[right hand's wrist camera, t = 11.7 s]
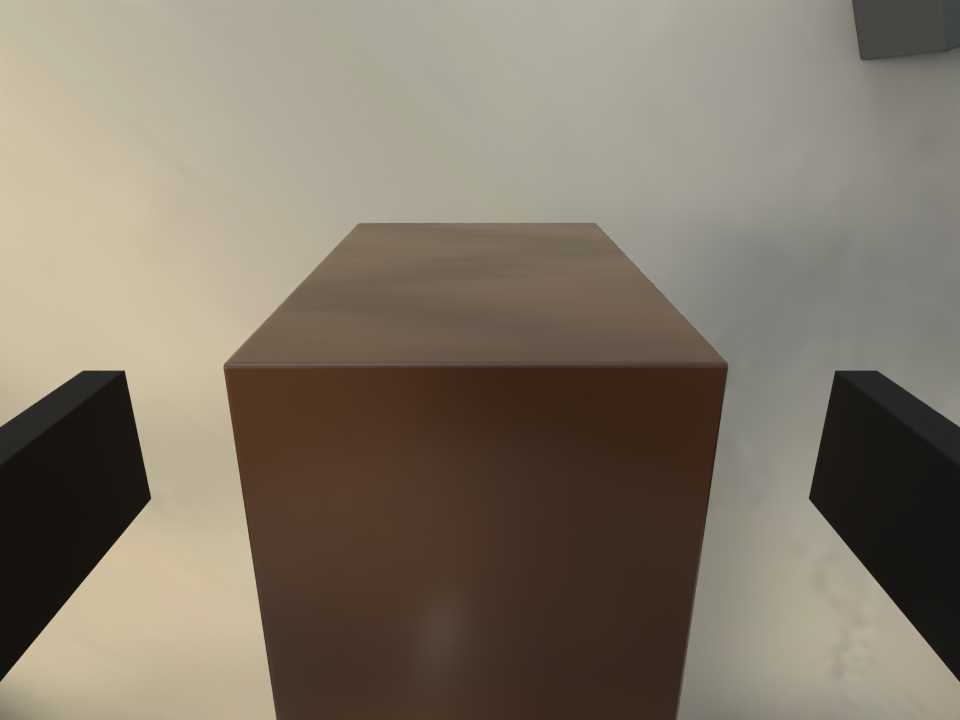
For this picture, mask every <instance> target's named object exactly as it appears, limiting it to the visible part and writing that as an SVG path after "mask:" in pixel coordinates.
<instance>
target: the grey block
mask: <svg viewBox="0 0 960 720" xmlns="http://www.w3.org/2000/svg"><path fill="white" fill-rule="evenodd" d="M852 1H853V8H854V15H855V22H856V29H857V36H858V43H859V50H860V57H861V60H868V59H878V58H888V57H897V56H907V55H917V54H926V53H936V52H946V51H949V50H951V49H954V48H957V47H959V46H960V0H852Z"/></svg>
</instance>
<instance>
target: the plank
mask: <svg viewBox="0 0 960 720" xmlns="http://www.w3.org/2000/svg"><path fill="white" fill-rule="evenodd" d="M727 371H728V364H727V362H726V361H725V360H724V359H723V358H722V357H721V356H720V355H719V354H718V353H717V352H716V351H715V349H714V348H713V347H712V346H711V345H710V344H709V343H708V342H707V341H706V340H705V339H704V338H703V337H702V336H701V335H700V334H699V332H698V331H697V330H696V329H695V328H694V327H693V326H692V325H691V324H690V323H689V322H688V321H687V320H686V319H685V318H684V317H683V315H682V314H681V313H680V312H679V311H678V310H677V309H676V308H675V307H674V306H673V305H672V304H671V303H670V302H669V301H668V299H667V298H666V297H665V296H664V295H663V294H662V293H661V292H660V291H659V290H658V289H657V288H656V287H655V286H654V285H653V284H652V282H651V281H650V280H649V279H648V278H647V277H646V276H645V275H644V274H643V273H642V272H641V271H640V270H639V269H638V268H637V266H636V265H635V264H634V263H633V262H632V261H631V260H630V259H629V258H628V257H627V256H626V255H625V254H624V253H623V252H622V251H621V249H620V248H619V247H618V246H617V245H616V244H615V243H614V242H613V241H612V240H611V239H610V238H609V237H608V236H607V235H606V234H605V232H604V231H603V230H602V229H601V228H600V227H599V226H598V225H597V224H596V223H359V224H358V225H357V226H356V227H355V228H354V229H353V230H352V231H351V232H350V233H349V234H348V235H347V236H346V237H345V238H344V239H343V240H342V241H341V242H340V243H339V245H338V246H337V247H336V248H335V249H334V250H333V251H332V252H331V253H330V254H329V255H328V256H327V257H326V258H325V259H324V260H323V261H322V262H321V263H320V264H319V265H318V266H317V268H316V269H315V270H314V271H313V272H312V273H311V274H310V275H309V276H308V277H307V278H306V279H305V280H304V281H303V282H302V283H301V284H300V285H299V286H298V287H297V288H296V289H295V290H294V292H293V293H292V294H291V295H290V296H289V297H288V298H287V299H286V300H285V301H284V302H283V303H282V304H281V305H280V306H279V307H278V308H277V309H276V310H275V311H274V312H273V313H272V315H271V316H270V317H269V318H268V319H267V320H266V321H265V322H264V323H263V324H262V325H261V326H260V327H259V328H258V329H257V330H256V331H255V332H254V333H253V334H252V335H251V336H250V338H249V339H248V340H247V341H246V342H245V343H244V344H243V345H242V346H241V347H240V348H239V349H238V350H237V351H236V352H235V353H234V354H233V355H232V356H231V357H230V358H229V359H228V361H227V362H226V363H225V364H224V373H225V380H226V387H227V393H228V400H229V407H230V413H231V420H232V427H233V433H234V440H235V446H236V453H237V460H238V466H239V473H240V480H241V486H242V493H243V499H244V506H245V513H246V519H247V526H248V533H249V539H250V546H251V552H252V559H253V566H254V572H255V579H256V586H257V592H258V599H259V605H260V612H261V619H262V625H263V632H264V639H265V645H266V652H267V658H268V665H269V672H270V678H271V685H272V692H273V698H274V705H275V711H276V718H277V720H677V716H678V710H679V703H680V696H681V689H682V682H683V675H684V668H685V661H686V654H687V647H688V640H689V633H690V627H691V620H692V613H693V606H694V599H695V592H696V585H697V578H698V571H699V564H700V557H701V551H702V544H703V537H704V530H705V523H706V516H707V509H708V502H709V495H710V488H711V481H712V475H713V468H714V461H715V454H716V447H717V440H718V433H719V426H720V419H721V412H722V405H723V399H724V392H725V385H726V378H727Z"/></svg>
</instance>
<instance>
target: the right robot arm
mask: <svg viewBox="0 0 960 720" xmlns="http://www.w3.org/2000/svg"><path fill="white" fill-rule="evenodd" d="M150 499H151V495H150V491H149V486H148V481H147V476H146V471H145V467H144V462H143V457H142V452H141V447H140V442H139V438H138V433H137V428H136V423H135V418H134V414H133V409H132V404H131V399H130V394H129V389H128V385H127V380H126V375H125V371H82V372H80V373H79V374H78V375H76V376H75V377H73V378H72V379H70V380H69V381H67V382H66V383H64V384H63V385H61V386H60V387H59V388H57V389H56V390H54V391H53V392H51V393H50V394H48V395H47V396H45V397H44V398H42V399H41V400H39V401H38V402H37V403H35V404H34V405H32V406H31V407H29V408H28V409H26V410H25V411H23V412H22V413H20V414H19V415H18V416H16V417H15V418H13V419H12V420H10V421H9V422H7V423H6V424H4V425H3V426H1V427H0V682H1V680H2V679H3V678H4V677H5V675H6V674H7V673H8V672H9V671H10V669H11V668H12V667H13V666H14V665H15V663H16V662H17V661H18V660H19V658H20V657H21V656H22V655H23V654H24V652H25V651H26V650H27V649H28V648H29V646H30V645H31V644H32V643H33V641H34V640H35V639H36V638H37V637H38V635H39V634H40V633H41V632H42V631H43V629H44V628H45V627H46V626H47V624H48V623H49V622H50V621H51V620H52V618H53V617H54V616H55V615H56V614H57V612H58V611H59V610H60V609H61V607H62V606H63V605H64V604H65V603H66V601H67V600H68V599H69V598H70V597H71V595H72V594H73V593H74V592H75V590H76V589H77V588H78V587H79V586H80V584H81V583H82V582H83V581H84V580H85V578H86V577H87V576H88V575H89V573H90V572H91V571H92V570H93V569H94V567H95V566H96V565H97V564H98V563H99V561H100V560H101V559H102V558H103V556H104V555H105V554H106V553H107V552H108V550H109V549H110V548H111V547H112V546H113V544H114V543H115V542H116V541H117V540H118V538H119V537H120V536H121V535H122V533H123V532H124V531H125V530H126V529H127V527H128V526H129V525H130V524H131V523H132V521H133V520H134V519H135V518H136V516H137V515H138V514H139V513H140V512H141V510H142V509H143V508H144V507H145V506H146V504H147V503H148V502H149V501H150ZM809 499H810V501H811V502H812V503H813V504H814V506H815V507H816V508H817V509H818V510H819V512H820V513H821V514H822V515H823V516H824V518H825V519H826V520H827V521H828V523H829V524H830V525H831V526H832V527H833V529H834V530H835V531H836V532H837V533H838V535H839V536H840V537H841V538H842V540H843V541H844V542H845V543H846V544H847V546H848V547H849V548H850V549H851V550H852V552H853V553H854V554H855V555H856V557H857V558H858V559H859V560H860V561H861V563H862V564H863V565H864V566H865V567H866V569H867V570H868V571H869V572H870V573H871V575H872V576H873V577H874V578H875V580H876V581H877V582H878V583H879V584H880V586H881V587H882V588H883V589H884V590H885V592H886V593H887V594H888V595H889V597H890V598H891V599H892V600H893V601H894V603H895V604H896V605H897V606H898V607H899V609H900V610H901V611H902V612H903V614H904V615H905V616H906V617H907V618H908V620H909V621H910V622H911V623H912V624H913V626H914V627H915V628H916V629H917V631H918V632H919V633H920V634H921V635H922V637H923V638H924V639H925V640H926V641H927V643H928V644H929V645H930V646H931V648H932V649H933V650H934V651H935V652H936V654H937V655H938V656H939V657H940V658H941V660H942V661H943V662H944V663H945V665H946V666H947V667H948V668H949V669H950V671H951V672H952V673H953V674H954V675H955V677H956V678H957V679H958V680H959V682H960V427H959V426H957V425H956V424H954V423H953V422H951V421H950V420H948V419H947V418H945V417H944V416H942V415H941V414H940V413H938V412H937V411H935V410H934V409H932V408H931V407H929V406H928V405H926V404H925V403H923V402H922V401H921V400H919V399H918V398H916V397H915V396H913V395H912V394H910V393H909V392H907V391H906V390H904V389H903V388H901V387H900V386H899V385H897V384H896V383H894V382H893V381H891V380H890V379H888V378H887V377H885V376H884V375H882V374H881V373H880V372H878V371H835V375H834V380H833V385H832V389H831V394H830V399H829V404H828V409H827V414H826V418H825V423H824V428H823V433H822V438H821V442H820V447H819V452H818V457H817V462H816V467H815V471H814V476H813V481H812V486H811V491H810V495H809Z"/></svg>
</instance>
